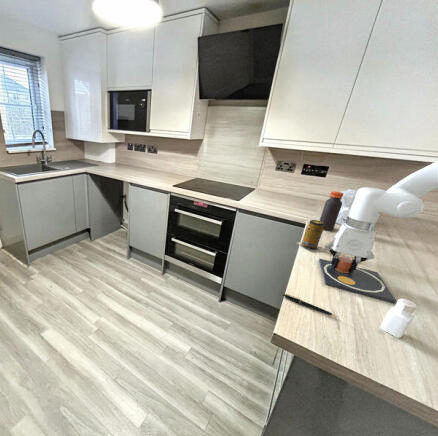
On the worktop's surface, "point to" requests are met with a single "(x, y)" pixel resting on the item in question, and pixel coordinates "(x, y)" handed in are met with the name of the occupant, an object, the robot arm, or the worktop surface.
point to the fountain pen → (306, 304)
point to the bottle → (331, 210)
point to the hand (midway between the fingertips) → (341, 268)
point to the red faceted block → (344, 264)
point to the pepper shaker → (399, 318)
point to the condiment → (312, 236)
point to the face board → (356, 281)
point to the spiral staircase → (346, 204)
